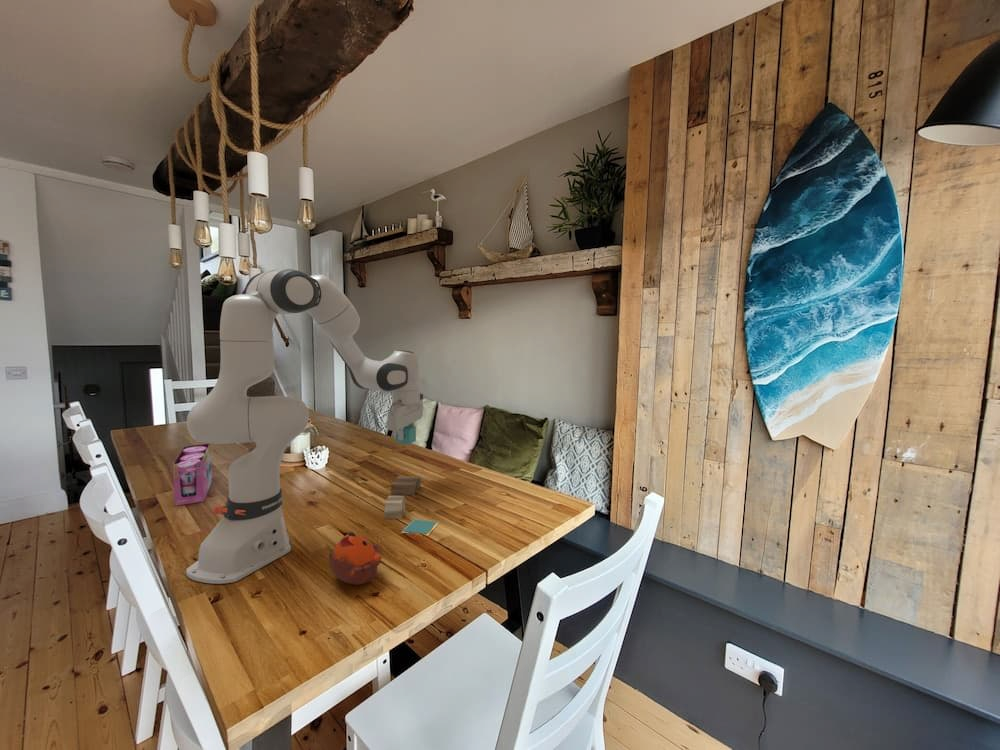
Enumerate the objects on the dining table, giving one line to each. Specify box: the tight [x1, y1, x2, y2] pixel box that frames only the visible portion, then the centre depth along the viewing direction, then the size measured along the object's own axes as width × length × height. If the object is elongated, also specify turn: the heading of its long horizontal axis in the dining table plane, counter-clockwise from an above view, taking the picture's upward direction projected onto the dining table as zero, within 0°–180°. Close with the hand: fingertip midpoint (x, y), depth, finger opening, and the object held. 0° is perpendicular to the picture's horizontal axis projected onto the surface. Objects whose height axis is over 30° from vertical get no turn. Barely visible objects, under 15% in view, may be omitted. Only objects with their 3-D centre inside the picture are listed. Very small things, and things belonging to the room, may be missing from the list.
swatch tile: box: [401, 518, 438, 534], centre depth 117 cm, size 8×8×1 cm
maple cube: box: [384, 495, 406, 519], centre depth 125 cm, size 5×5×5 cm
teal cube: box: [395, 425, 417, 445], centre depth 141 cm, size 5×5×5 cm
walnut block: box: [390, 475, 421, 496], centre depth 143 cm, size 8×8×4 cm
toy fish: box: [328, 532, 383, 586], centre depth 92 cm, size 12×10×11 cm
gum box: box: [172, 443, 213, 506], centre depth 138 cm, size 24×8×14 cm, turn 30°
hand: (405, 437), depth 141 cm, fingers closed on teal cube, 5 cm apart
